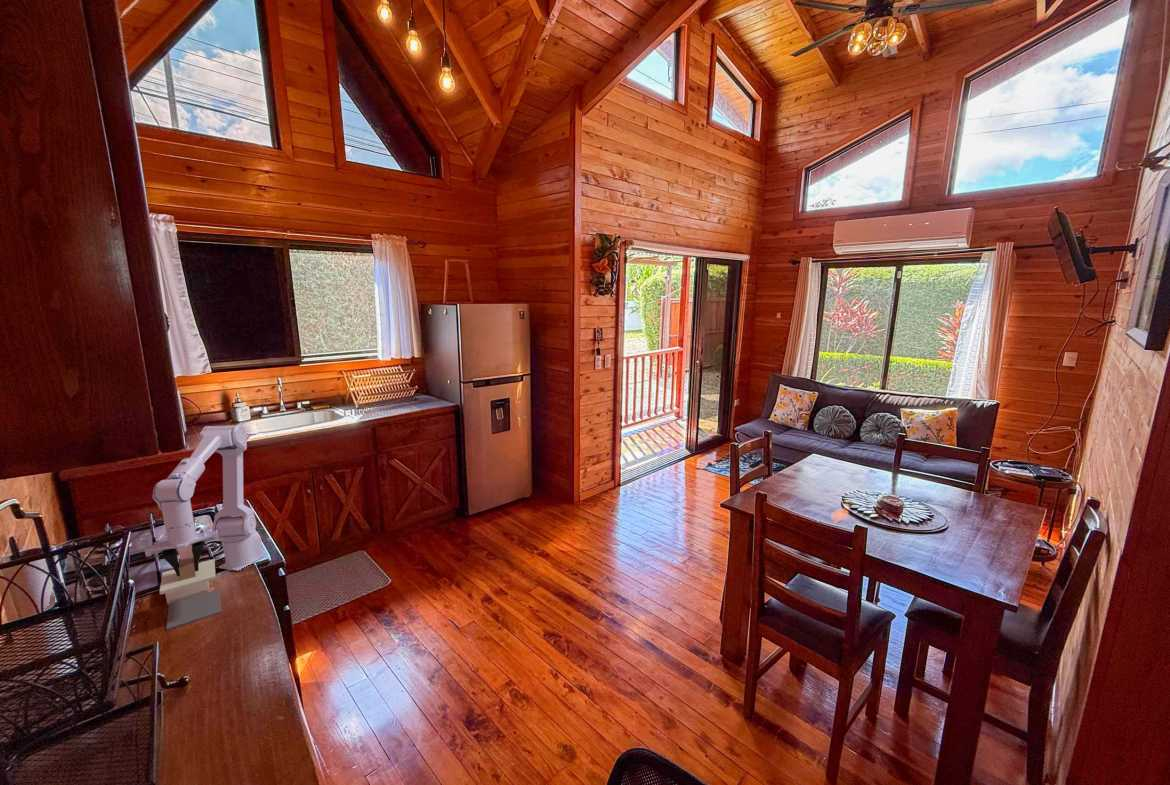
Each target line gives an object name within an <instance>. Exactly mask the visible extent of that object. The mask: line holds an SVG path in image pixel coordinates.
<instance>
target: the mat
mask: <svg viewBox="0 0 1170 785" xmlns="http://www.w3.org/2000/svg"><path fill="white" fill-rule="evenodd" d="M167 610H168V611H167V619H166V620H167V621H166V631H169V630H172V629H175V628H178V627H182V626H185V625H188V624H192V623H193V622H197V621H200V620H203V619H207V618H209V617H212V616H215V615H218V614H221V613H222V598H221V588H218V589H215V590H212V591H209V592H207V593H204V594H200V595H197V596H194V597H190V598H187V599H184V600H180V601H177V602H173V603H170V604H168V609H167Z"/></svg>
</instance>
